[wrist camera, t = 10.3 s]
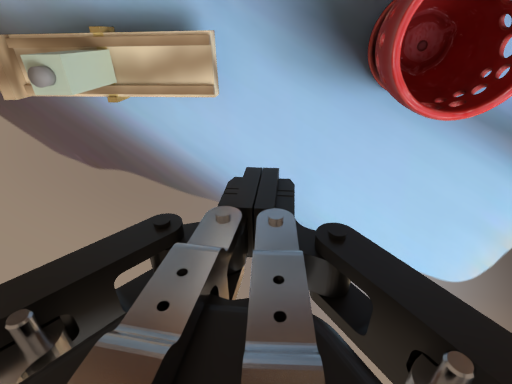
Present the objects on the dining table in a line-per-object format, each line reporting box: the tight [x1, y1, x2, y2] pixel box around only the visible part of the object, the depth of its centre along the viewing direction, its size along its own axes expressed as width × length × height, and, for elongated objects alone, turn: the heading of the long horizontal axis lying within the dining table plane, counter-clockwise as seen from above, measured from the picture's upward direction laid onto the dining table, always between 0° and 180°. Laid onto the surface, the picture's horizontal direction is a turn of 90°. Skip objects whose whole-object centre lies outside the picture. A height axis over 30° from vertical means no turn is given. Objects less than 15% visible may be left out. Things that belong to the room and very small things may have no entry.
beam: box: [0, 26, 219, 102], centre depth 36 cm, size 8×26×8 cm, turn 91°
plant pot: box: [368, 0, 512, 121], centre depth 29 cm, size 13×13×12 cm
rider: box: [20, 49, 117, 95], centre depth 30 cm, size 4×4×9 cm
